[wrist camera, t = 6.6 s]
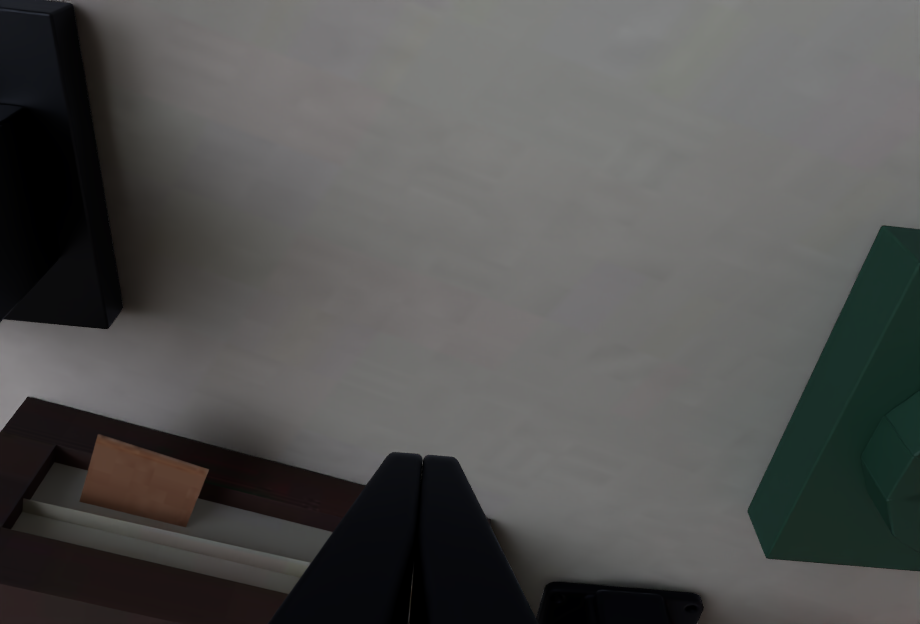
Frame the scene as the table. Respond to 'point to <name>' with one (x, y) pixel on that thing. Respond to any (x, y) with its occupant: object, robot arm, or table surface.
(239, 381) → the table surface
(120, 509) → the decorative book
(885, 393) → the control block
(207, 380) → the table surface
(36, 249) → the tap bracket
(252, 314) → the table surface
